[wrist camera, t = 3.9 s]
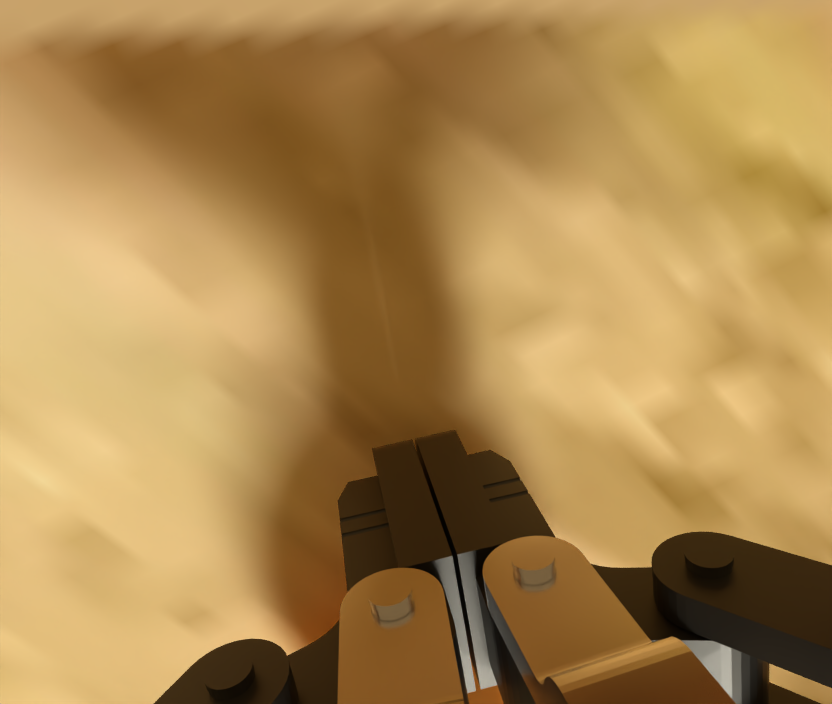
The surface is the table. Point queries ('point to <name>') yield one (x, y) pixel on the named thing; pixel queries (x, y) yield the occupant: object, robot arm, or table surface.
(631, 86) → the table surface
